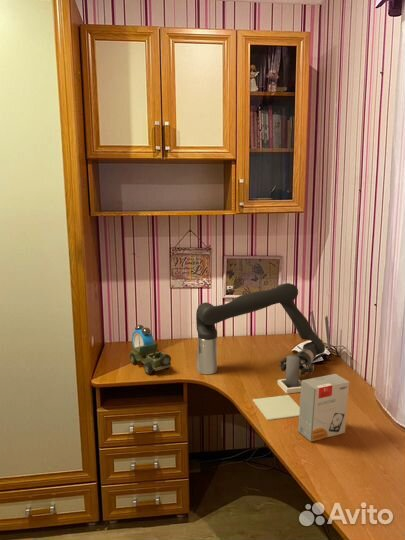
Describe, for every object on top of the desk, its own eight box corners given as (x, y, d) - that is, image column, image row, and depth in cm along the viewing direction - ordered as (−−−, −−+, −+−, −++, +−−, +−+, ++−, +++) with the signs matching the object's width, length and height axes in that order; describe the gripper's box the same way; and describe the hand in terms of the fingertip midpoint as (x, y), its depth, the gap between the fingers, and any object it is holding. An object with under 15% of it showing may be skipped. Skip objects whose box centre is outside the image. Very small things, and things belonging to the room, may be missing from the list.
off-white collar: (286, 393, 180) (286, 389, 179) (277, 383, 189) (277, 379, 188) (306, 391, 182) (307, 386, 181) (297, 381, 191) (297, 377, 191)
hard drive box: (310, 443, 144) (313, 389, 141) (297, 431, 151) (299, 380, 147) (346, 433, 150) (349, 381, 147) (331, 422, 157) (334, 372, 154)
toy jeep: (149, 356, 221) (148, 336, 219) (175, 372, 201) (174, 350, 199) (128, 361, 214) (127, 341, 212) (153, 379, 194) (152, 356, 192)
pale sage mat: (267, 420, 158) (267, 419, 158) (252, 400, 174) (252, 399, 174) (306, 415, 162) (306, 414, 162) (288, 396, 177) (288, 395, 177)
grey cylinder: (288, 391, 182) (289, 360, 179) (283, 385, 187) (284, 355, 185) (300, 389, 183) (301, 359, 181) (294, 384, 189) (296, 354, 186)
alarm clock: (132, 351, 228) (131, 324, 225) (141, 348, 232) (141, 322, 229) (144, 358, 218) (144, 330, 215) (154, 355, 222) (154, 328, 219)
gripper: (289, 348, 200) (276, 359, 186) (319, 354, 192) (308, 366, 179) (288, 363, 201) (276, 375, 187) (318, 369, 194) (307, 383, 180)
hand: (291, 371), depth 183 cm, fingers open, 8 cm apart
